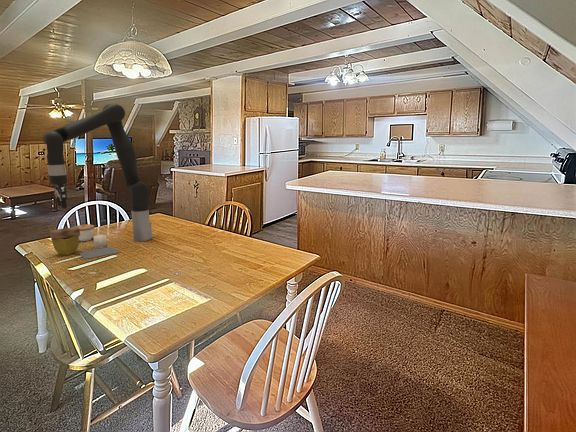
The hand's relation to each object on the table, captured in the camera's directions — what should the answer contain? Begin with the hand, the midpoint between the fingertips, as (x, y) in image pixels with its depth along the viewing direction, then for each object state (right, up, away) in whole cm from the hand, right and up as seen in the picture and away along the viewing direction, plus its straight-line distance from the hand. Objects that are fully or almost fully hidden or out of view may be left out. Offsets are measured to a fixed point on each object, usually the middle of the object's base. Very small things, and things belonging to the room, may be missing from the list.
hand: (62, 206), depth 182 cm
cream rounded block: (+11, -21, +16) cm, 29 cm away
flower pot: (0, -24, +5) cm, 24 cm away
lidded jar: (-4, -18, +28) cm, 34 cm away
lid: (0, -15, +3) cm, 15 cm away
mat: (+15, -23, +6) cm, 29 cm away
